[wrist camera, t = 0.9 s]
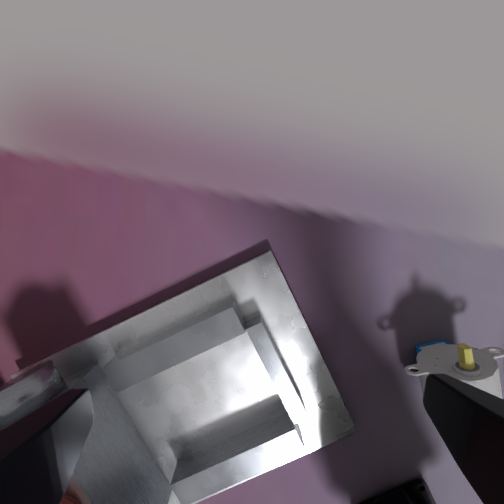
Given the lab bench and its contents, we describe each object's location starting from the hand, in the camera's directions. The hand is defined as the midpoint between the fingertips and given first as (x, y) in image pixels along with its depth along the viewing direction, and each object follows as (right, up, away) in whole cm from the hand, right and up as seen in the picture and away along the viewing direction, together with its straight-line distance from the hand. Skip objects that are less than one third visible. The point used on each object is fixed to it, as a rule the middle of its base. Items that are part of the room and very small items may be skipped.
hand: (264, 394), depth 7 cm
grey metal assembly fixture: (-5, -8, +15) cm, 18 cm away
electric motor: (+14, -4, +15) cm, 21 cm away
